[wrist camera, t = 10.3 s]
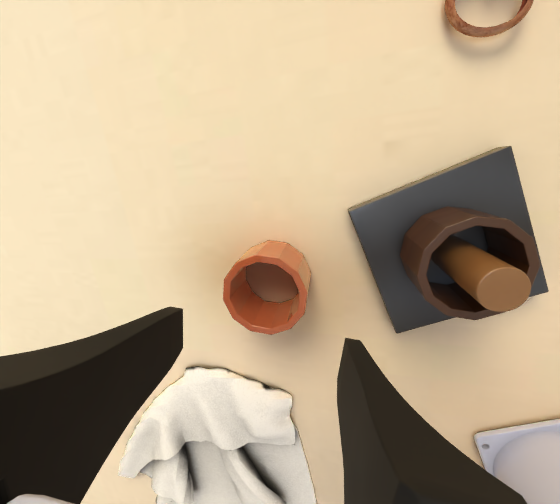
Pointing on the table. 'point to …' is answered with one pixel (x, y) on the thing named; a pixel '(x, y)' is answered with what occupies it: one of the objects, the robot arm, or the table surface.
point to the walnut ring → (501, 243)
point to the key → (480, 31)
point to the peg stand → (448, 239)
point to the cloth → (220, 443)
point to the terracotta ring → (255, 309)
